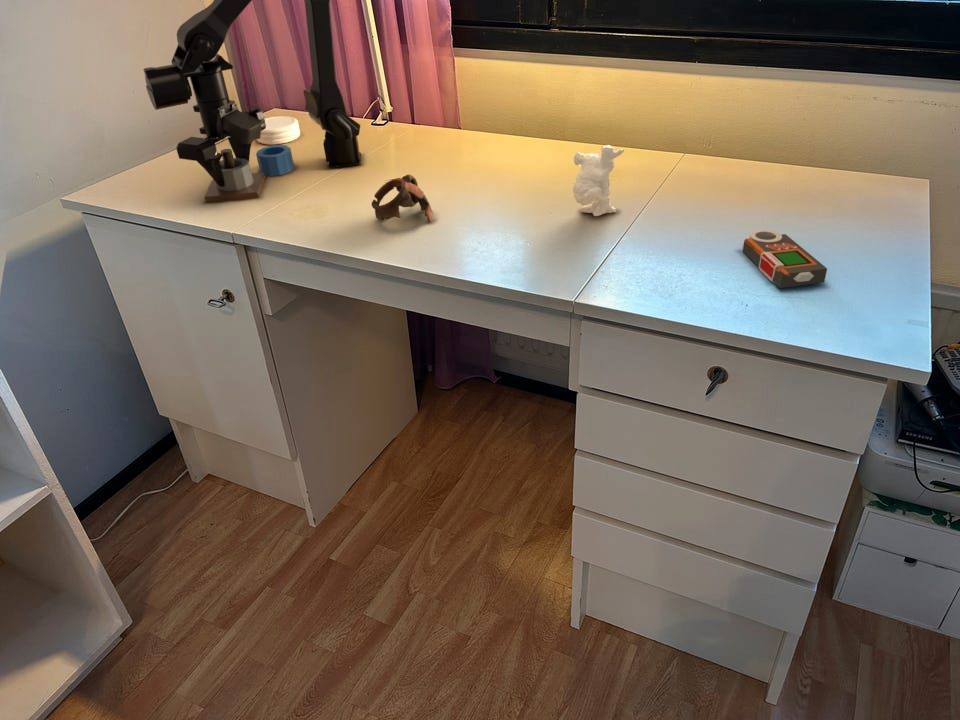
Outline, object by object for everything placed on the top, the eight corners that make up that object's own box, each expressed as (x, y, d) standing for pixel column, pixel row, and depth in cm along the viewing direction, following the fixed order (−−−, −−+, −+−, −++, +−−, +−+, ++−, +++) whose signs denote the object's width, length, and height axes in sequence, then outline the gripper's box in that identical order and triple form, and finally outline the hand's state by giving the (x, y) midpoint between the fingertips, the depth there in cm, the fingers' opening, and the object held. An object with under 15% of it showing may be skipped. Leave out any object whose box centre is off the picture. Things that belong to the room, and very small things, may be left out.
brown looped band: (434, 232, 125) (407, 198, 120) (390, 251, 129) (361, 219, 124) (441, 187, 133) (414, 154, 127) (399, 207, 137) (372, 175, 132)
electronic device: (778, 225, 114) (829, 267, 102) (775, 243, 116) (825, 286, 104) (737, 230, 114) (782, 272, 101) (734, 247, 115) (779, 291, 103)
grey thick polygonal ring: (255, 175, 146) (250, 156, 144) (250, 189, 141) (245, 169, 138) (220, 179, 146) (215, 159, 143) (214, 192, 140) (209, 172, 138)
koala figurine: (626, 208, 128) (630, 141, 121) (610, 223, 123) (614, 154, 116) (582, 199, 132) (584, 134, 125) (565, 214, 127) (566, 147, 120)
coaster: (309, 132, 169) (306, 117, 167) (283, 147, 162) (279, 131, 160) (274, 128, 173) (270, 113, 171) (247, 143, 166) (243, 127, 164)
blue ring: (295, 162, 154) (291, 143, 152) (292, 174, 149) (288, 155, 147) (263, 165, 154) (258, 146, 152) (258, 177, 149) (254, 158, 146)
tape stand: (265, 177, 148) (256, 139, 143) (258, 197, 140) (248, 157, 135) (215, 182, 148) (204, 143, 143) (205, 202, 140) (193, 162, 135)
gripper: (212, 117, 124) (235, 203, 133) (279, 86, 137) (295, 166, 146) (162, 112, 128) (188, 196, 137) (232, 82, 141) (251, 160, 150)
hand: (233, 179), depth 143 cm, fingers closed on grey thick polygonal ring, 7 cm apart
